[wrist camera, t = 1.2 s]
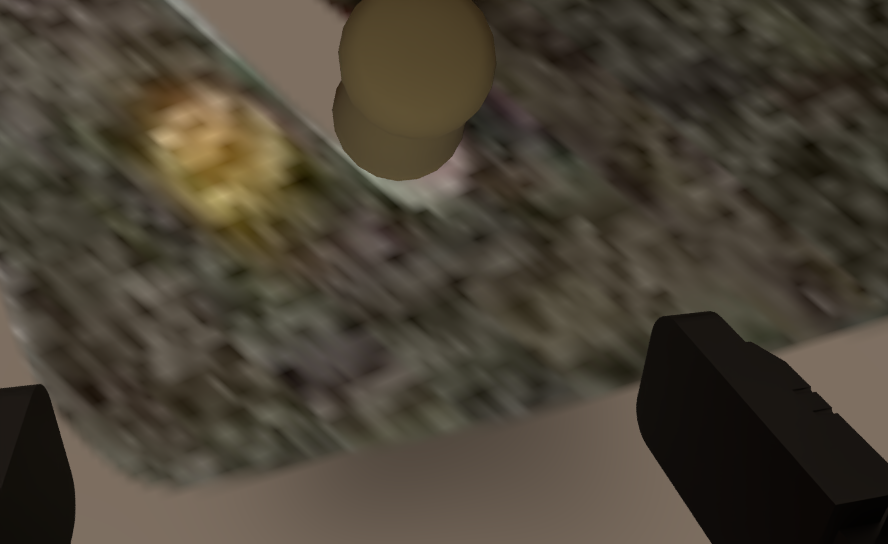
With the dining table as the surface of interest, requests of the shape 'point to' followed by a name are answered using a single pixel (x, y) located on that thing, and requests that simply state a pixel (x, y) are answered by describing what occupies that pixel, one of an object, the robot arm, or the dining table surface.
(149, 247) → the dining table surface
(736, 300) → the dining table surface
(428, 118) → the cork
